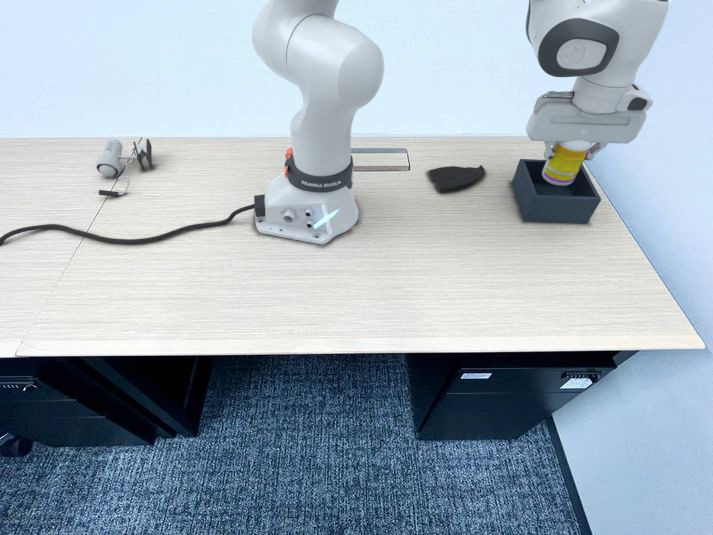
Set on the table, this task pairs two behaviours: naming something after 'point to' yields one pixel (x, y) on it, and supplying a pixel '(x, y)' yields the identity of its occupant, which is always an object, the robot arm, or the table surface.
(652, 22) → the robot arm
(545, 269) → the table surface
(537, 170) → the tub
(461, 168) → the curved wedge
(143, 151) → the clip-on lamp
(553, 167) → the supplement bottle
